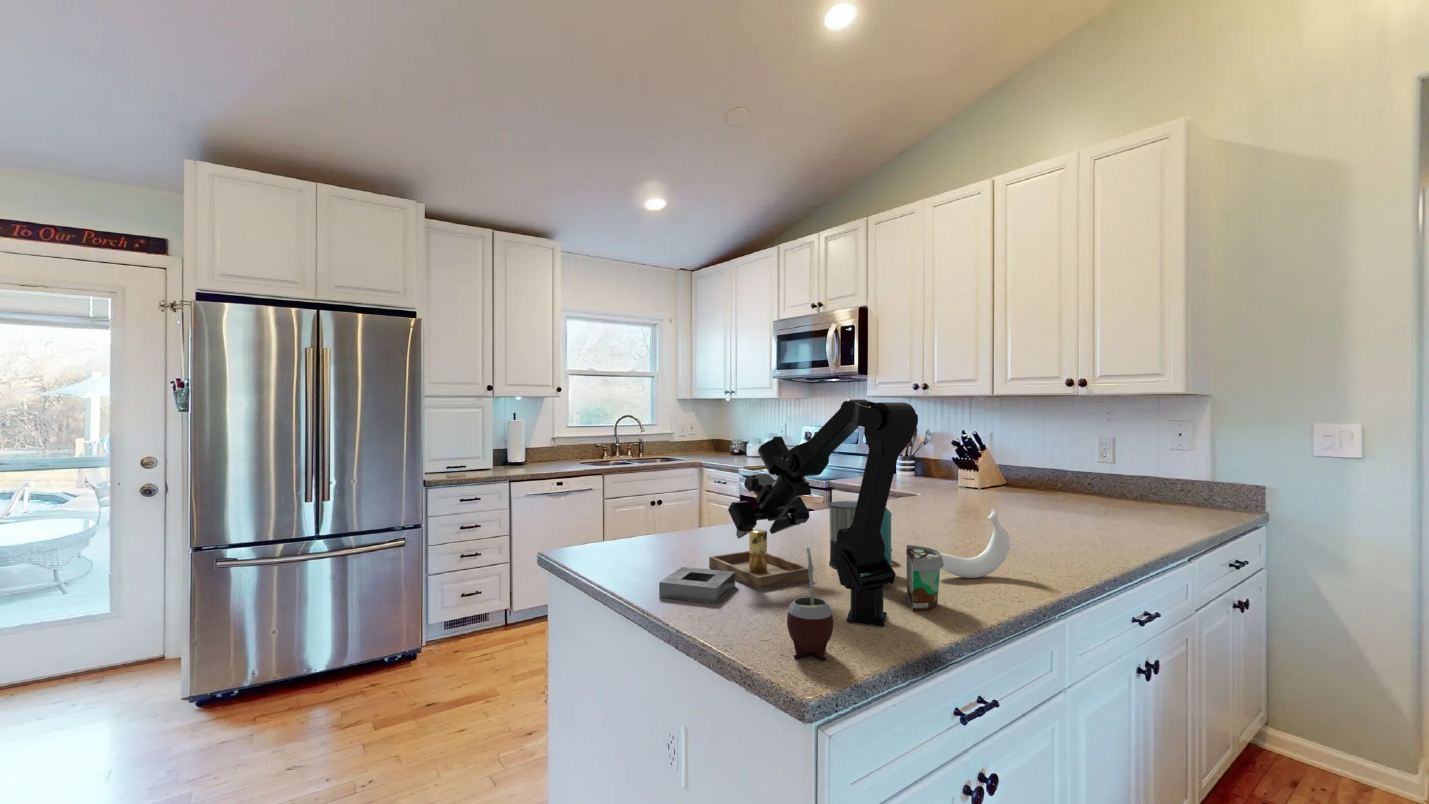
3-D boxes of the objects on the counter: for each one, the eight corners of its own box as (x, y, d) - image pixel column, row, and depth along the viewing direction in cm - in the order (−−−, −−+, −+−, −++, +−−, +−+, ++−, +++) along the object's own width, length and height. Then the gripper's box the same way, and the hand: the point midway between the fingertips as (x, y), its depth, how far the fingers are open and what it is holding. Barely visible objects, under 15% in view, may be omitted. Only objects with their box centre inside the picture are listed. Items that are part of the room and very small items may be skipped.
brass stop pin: (757, 574, 135) (757, 534, 135) (745, 570, 138) (745, 531, 138) (770, 571, 138) (770, 531, 138) (758, 567, 141) (758, 528, 141)
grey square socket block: (716, 603, 117) (716, 588, 117) (659, 597, 121) (659, 582, 121) (735, 586, 128) (735, 571, 128) (682, 580, 132) (682, 566, 132)
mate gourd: (810, 668, 89) (810, 564, 89) (773, 650, 95) (773, 554, 95) (845, 655, 93) (845, 557, 93) (808, 639, 99) (808, 547, 100)
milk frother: (824, 569, 142) (824, 505, 142) (836, 553, 157) (836, 495, 157) (888, 575, 137) (888, 509, 137) (893, 558, 152) (893, 498, 152)
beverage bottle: (889, 582, 132) (889, 489, 132) (895, 591, 125) (895, 493, 125) (858, 581, 132) (858, 488, 132) (862, 590, 126) (862, 493, 126)
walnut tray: (810, 579, 133) (810, 568, 133) (757, 589, 126) (757, 577, 126) (758, 559, 150) (758, 549, 150) (709, 567, 143) (709, 556, 143)
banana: (924, 576, 136) (924, 510, 136) (1001, 571, 140) (1001, 507, 140) (936, 582, 131) (936, 514, 131) (1015, 577, 135) (1015, 511, 135)
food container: (949, 616, 110) (949, 561, 110) (913, 614, 111) (913, 559, 111) (938, 595, 122) (938, 545, 122) (906, 593, 123) (906, 544, 123)
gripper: (801, 460, 140) (772, 502, 149) (732, 465, 130) (706, 509, 139) (824, 500, 133) (793, 541, 142) (753, 507, 123) (724, 551, 133)
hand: (754, 534), depth 139 cm, fingers open, 9 cm apart
